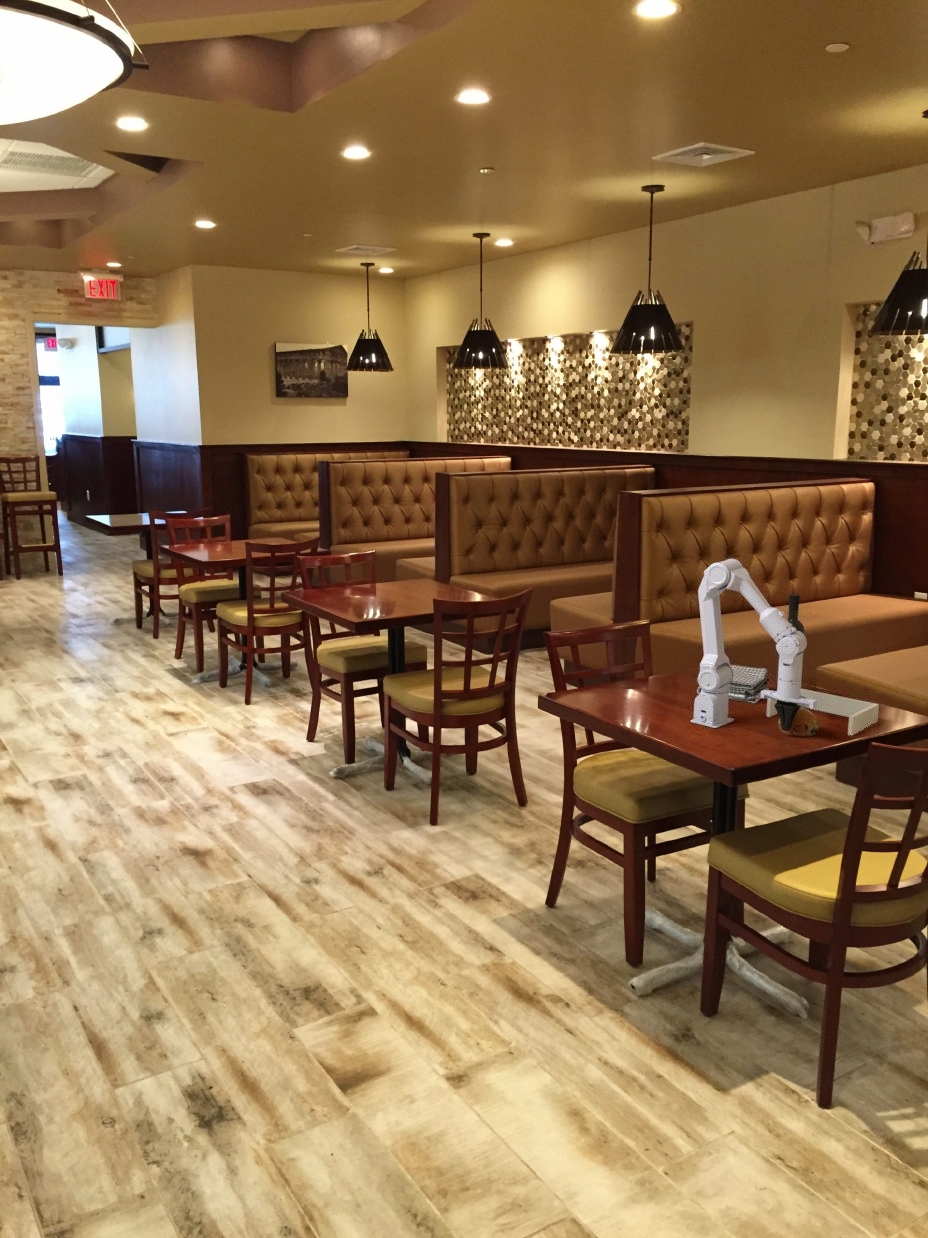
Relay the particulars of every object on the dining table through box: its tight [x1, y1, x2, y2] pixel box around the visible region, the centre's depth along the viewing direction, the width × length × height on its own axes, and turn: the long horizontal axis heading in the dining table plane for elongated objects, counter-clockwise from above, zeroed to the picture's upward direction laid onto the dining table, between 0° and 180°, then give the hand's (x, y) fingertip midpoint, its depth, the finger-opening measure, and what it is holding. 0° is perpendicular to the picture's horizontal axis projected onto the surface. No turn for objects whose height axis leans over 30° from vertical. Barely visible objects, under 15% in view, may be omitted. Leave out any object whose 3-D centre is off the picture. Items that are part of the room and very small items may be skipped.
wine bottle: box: [775, 593, 806, 691], centre depth 291 cm, size 6×6×30 cm
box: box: [766, 688, 880, 737], centre depth 270 cm, size 16×24×5 cm, turn 45°
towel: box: [696, 664, 770, 704], centre depth 294 cm, size 15×18×8 cm
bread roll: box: [777, 707, 820, 738], centre depth 260 cm, size 10×10×8 cm
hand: (786, 729), depth 256 cm, fingers closed
